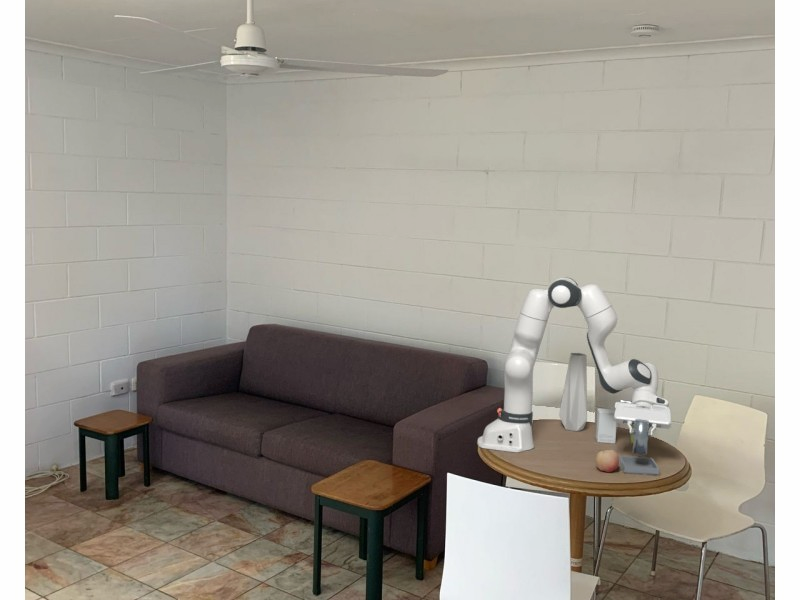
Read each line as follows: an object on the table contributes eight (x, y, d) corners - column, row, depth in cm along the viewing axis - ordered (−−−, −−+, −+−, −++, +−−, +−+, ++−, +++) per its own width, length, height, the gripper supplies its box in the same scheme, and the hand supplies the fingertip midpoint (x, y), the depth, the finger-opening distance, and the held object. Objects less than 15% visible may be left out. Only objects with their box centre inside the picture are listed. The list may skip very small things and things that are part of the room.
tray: (624, 473, 273) (624, 466, 272) (618, 462, 285) (619, 455, 284) (659, 475, 271) (659, 468, 271) (652, 464, 283) (652, 458, 283)
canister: (634, 454, 275) (636, 422, 274) (631, 450, 280) (633, 418, 279) (648, 455, 275) (650, 423, 273) (645, 450, 280) (647, 419, 278)
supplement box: (615, 443, 308) (617, 413, 307) (597, 442, 309) (598, 412, 308) (613, 438, 315) (615, 409, 314) (595, 437, 317) (597, 407, 315)
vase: (577, 434, 319) (582, 358, 315) (555, 428, 328) (559, 353, 324) (594, 429, 327) (598, 355, 324) (571, 423, 336) (575, 350, 332)
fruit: (604, 466, 280) (605, 445, 279) (622, 472, 274) (623, 450, 273) (590, 469, 276) (591, 448, 275) (608, 476, 269) (609, 454, 268)
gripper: (615, 395, 285) (611, 427, 277) (672, 401, 278) (670, 434, 270) (615, 404, 290) (611, 435, 282) (672, 410, 283) (669, 442, 275)
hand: (640, 434), depth 276 cm, fingers closed on canister, 5 cm apart
